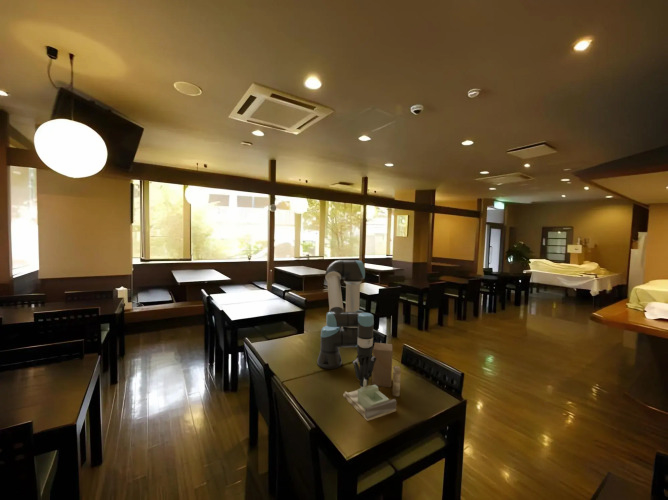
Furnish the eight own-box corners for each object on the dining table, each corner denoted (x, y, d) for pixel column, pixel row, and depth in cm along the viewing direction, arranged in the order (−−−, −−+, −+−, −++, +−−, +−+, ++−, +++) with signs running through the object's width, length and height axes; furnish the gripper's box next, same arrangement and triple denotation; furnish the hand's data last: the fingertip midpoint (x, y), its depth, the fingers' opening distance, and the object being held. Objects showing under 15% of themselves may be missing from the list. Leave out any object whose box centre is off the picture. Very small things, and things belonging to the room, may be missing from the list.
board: (343, 395, 140) (343, 386, 139) (369, 388, 147) (369, 379, 147) (367, 421, 121) (367, 409, 121) (395, 411, 129) (396, 400, 128)
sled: (357, 401, 134) (357, 389, 133) (374, 396, 138) (374, 384, 138) (370, 414, 124) (371, 401, 123) (388, 408, 128) (389, 396, 128)
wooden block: (391, 388, 148) (392, 351, 147) (372, 385, 150) (373, 349, 149) (391, 378, 158) (392, 343, 157) (373, 376, 160) (374, 342, 159)
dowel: (390, 393, 143) (392, 366, 142) (396, 391, 145) (397, 365, 144) (395, 397, 140) (396, 370, 139) (401, 395, 141) (402, 368, 141)
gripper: (357, 350, 130) (356, 399, 132) (380, 345, 136) (378, 392, 138) (349, 344, 137) (348, 391, 138) (371, 340, 143) (369, 385, 145)
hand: (363, 391), depth 138 cm, fingers closed
